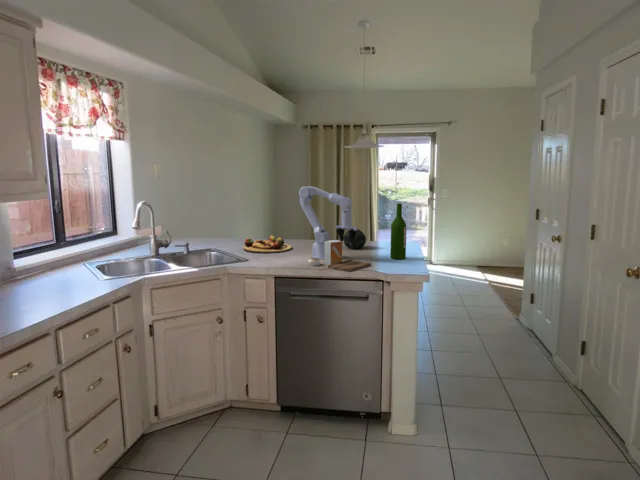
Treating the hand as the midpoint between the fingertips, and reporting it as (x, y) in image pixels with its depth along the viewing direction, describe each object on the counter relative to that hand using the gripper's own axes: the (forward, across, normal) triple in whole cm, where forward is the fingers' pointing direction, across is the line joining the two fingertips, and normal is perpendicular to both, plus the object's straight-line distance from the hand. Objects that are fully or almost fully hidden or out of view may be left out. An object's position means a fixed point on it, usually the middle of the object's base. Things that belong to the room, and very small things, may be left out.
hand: (346, 241), depth 265 cm
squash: (+11, -18, +33) cm, 39 cm away
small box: (+11, +2, -15) cm, 19 cm away
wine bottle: (+11, +22, +22) cm, 33 cm away
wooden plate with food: (+10, -61, -7) cm, 62 cm away
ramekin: (+10, -4, -24) cm, 27 cm away
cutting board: (+10, +14, -15) cm, 23 cm away
